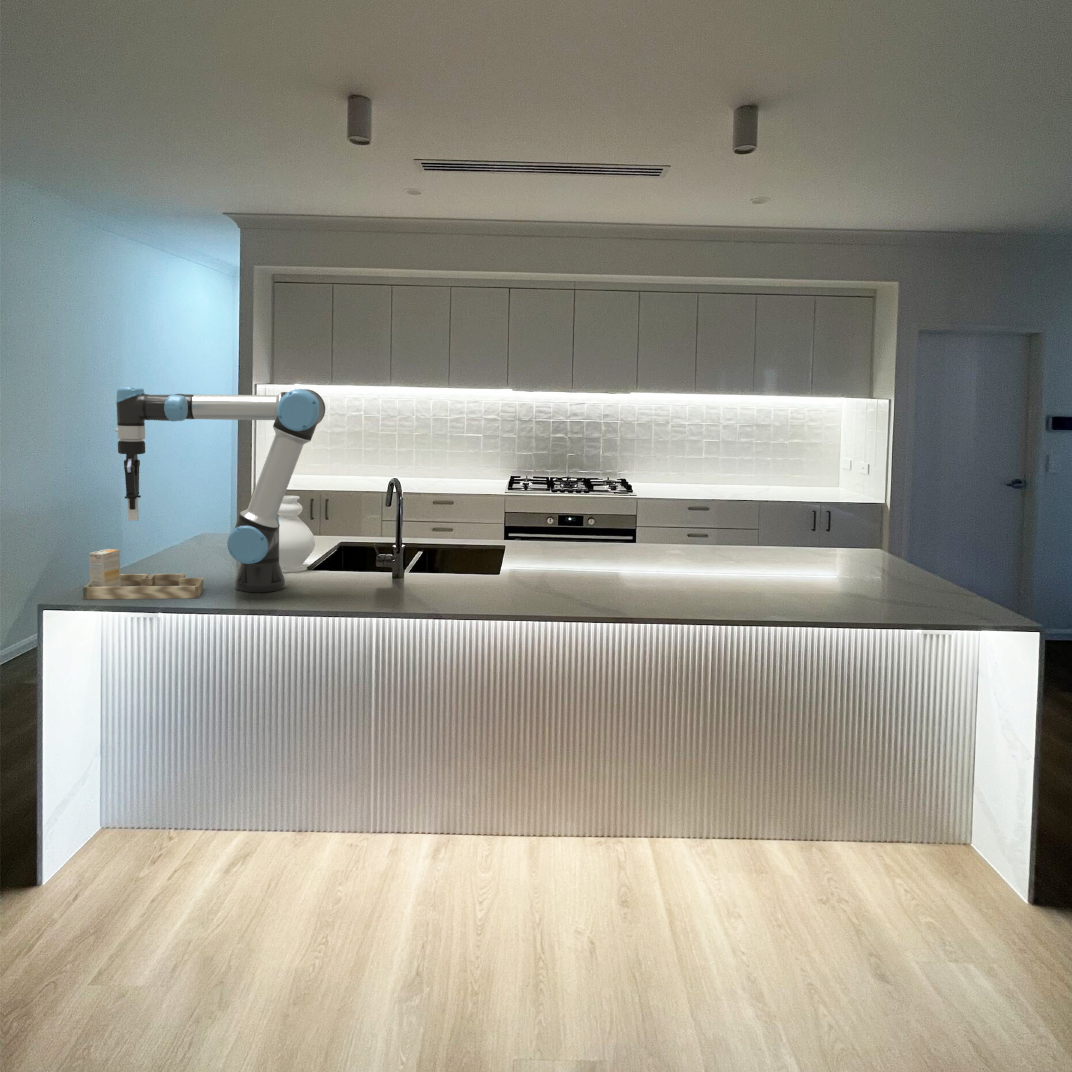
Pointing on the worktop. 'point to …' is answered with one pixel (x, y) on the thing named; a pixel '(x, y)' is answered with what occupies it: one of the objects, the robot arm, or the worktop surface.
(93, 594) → the tray
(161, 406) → the robot arm
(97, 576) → the supplement box
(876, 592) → the worktop surface
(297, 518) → the decorative vase
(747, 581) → the worktop surface
